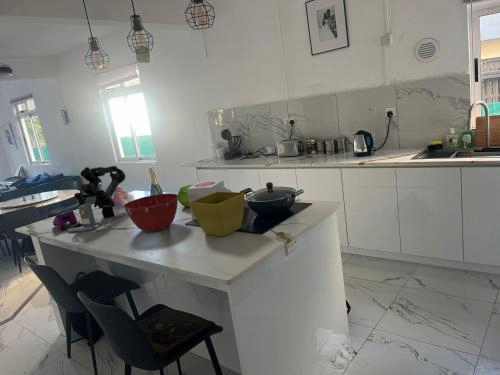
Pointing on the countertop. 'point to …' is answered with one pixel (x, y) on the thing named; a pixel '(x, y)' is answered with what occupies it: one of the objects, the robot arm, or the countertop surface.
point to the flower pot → (219, 212)
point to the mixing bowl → (153, 211)
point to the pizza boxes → (204, 191)
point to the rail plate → (79, 227)
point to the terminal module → (87, 215)
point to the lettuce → (184, 196)
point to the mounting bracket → (64, 220)
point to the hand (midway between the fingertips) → (87, 208)
